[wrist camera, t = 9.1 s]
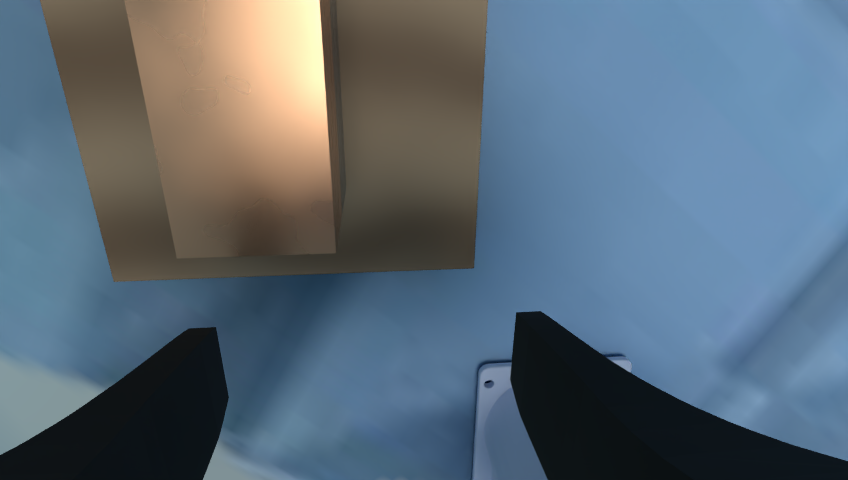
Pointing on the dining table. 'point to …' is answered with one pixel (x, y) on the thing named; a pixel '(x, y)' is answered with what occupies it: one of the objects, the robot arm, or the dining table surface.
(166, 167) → the brown rectangular block
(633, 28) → the dining table surface
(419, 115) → the walnut stand
